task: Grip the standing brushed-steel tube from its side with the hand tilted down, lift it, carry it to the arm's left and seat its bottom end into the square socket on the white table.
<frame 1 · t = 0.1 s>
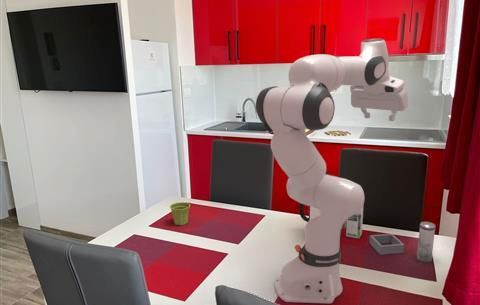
hand: (379, 119, 141), 52 cm above the table, tool tilted 20°, fingers open, 8 cm apart
tube: (424, 258, 143), on the table
syrup box: (353, 235, 163), on the table
plant pot: (181, 223, 179), on the table
coffee press: (320, 237, 162), on the table
small box: (341, 226, 172), on the table
socket: (386, 248, 152), on the table
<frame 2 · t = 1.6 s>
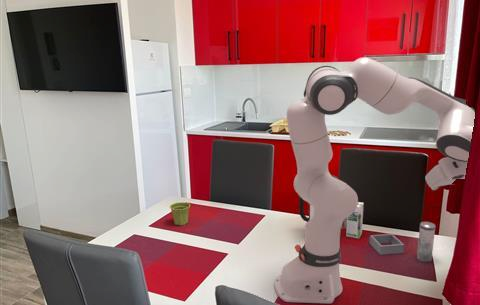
hand: (445, 185, 125), 33 cm above the table, tool tilted 45°, fingers open, 8 cm apart
nothing on the table moved.
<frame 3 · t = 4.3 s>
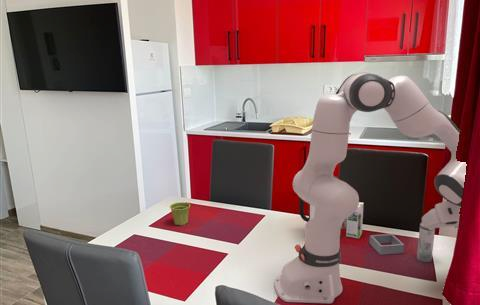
hand: (443, 226, 131), 17 cm above the table, tool tilted 45°, fingers open, 8 cm apart
nothing on the table moved.
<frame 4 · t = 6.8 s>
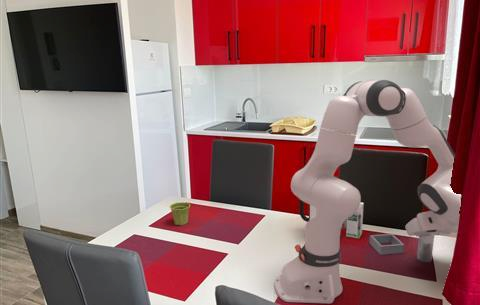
hand: (425, 233, 141), 10 cm above the table, tool tilted 45°, fingers closed on tube, 5 cm apart
tube: (424, 258, 143), on the table, touching gripper
everything else where it was.
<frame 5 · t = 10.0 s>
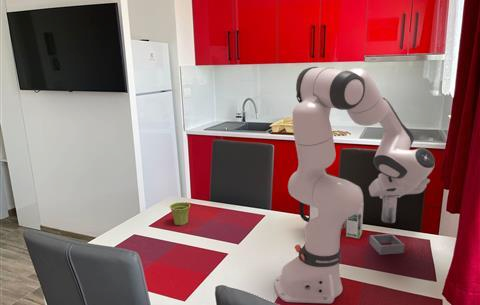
hand: (389, 196, 147), 22 cm above the table, tool tilted 45°, fingers closed on tube, 5 cm apart
tube: (388, 220, 149), point 12 cm above the table, touching gripper
everything else where it was.
when the fingers open (11 cm above the table, at t = 13.3 s): tube drops 1 cm, resting in socket.
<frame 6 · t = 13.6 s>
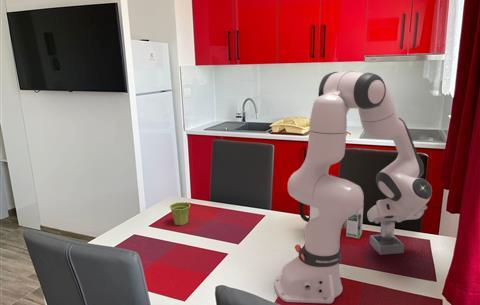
hand: (387, 221, 149), 11 cm above the table, tool tilted 45°, fingers open, 7 cm apart
tube: (386, 248, 152), resting in socket
everything else where it was.
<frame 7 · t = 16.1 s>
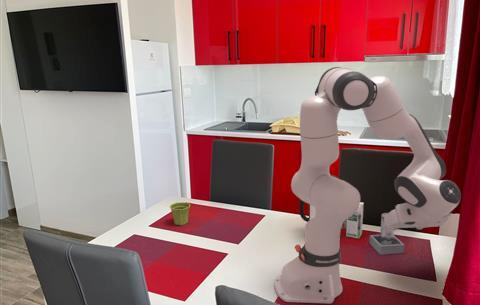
hand: (405, 227, 136), 15 cm above the table, tool tilted 45°, fingers open, 8 cm apart
nothing on the table moved.
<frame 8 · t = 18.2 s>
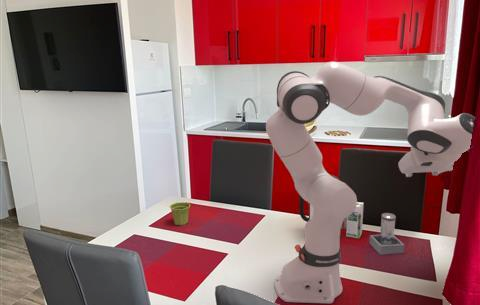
hand: (420, 174, 128), 35 cm above the table, tool tilted 45°, fingers open, 8 cm apart
nothing on the table moved.
at the end: tube 0.0 cm off-centre on the socket, point 0.0 cm above the socket's base; tube tilted 0°; the gripper is holding nothing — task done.
